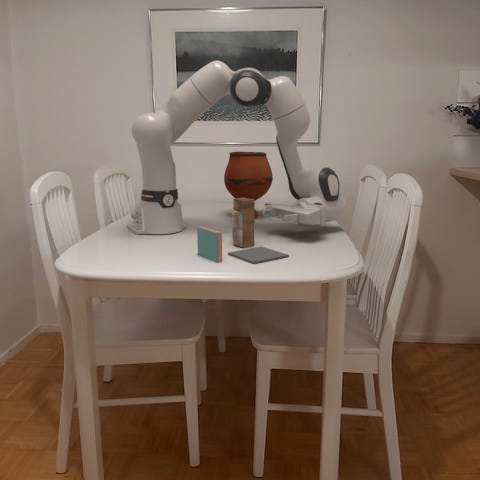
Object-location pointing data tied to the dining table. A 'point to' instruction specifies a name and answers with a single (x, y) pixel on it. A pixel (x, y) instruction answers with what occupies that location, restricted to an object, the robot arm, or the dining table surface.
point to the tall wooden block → (243, 222)
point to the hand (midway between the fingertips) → (273, 216)
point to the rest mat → (258, 255)
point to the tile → (209, 243)
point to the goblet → (248, 175)
